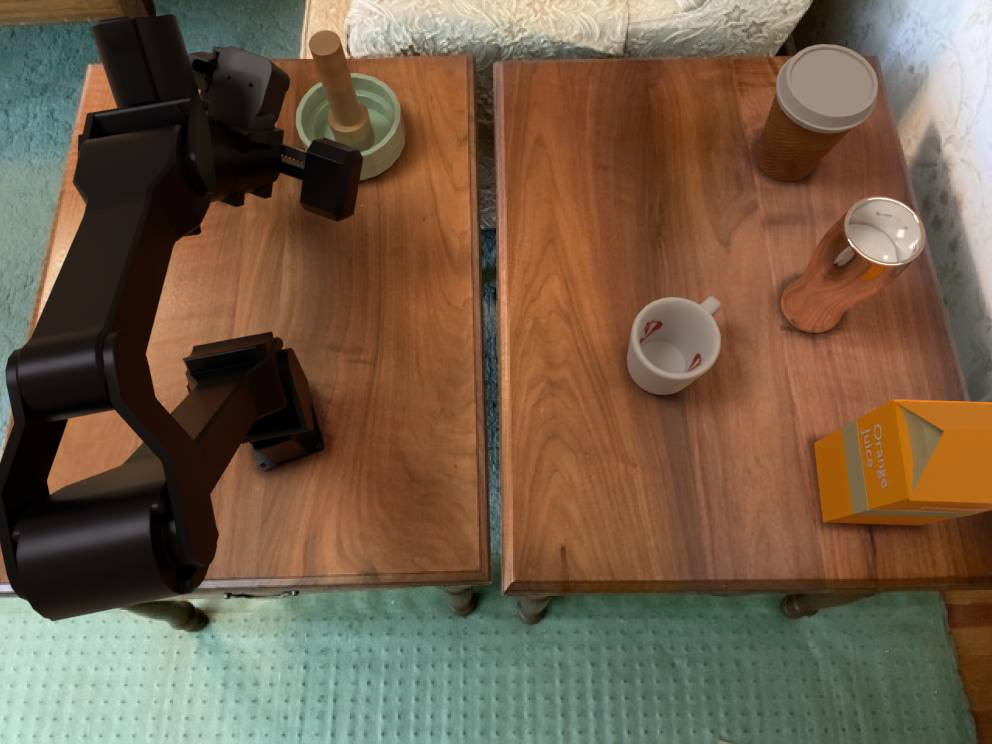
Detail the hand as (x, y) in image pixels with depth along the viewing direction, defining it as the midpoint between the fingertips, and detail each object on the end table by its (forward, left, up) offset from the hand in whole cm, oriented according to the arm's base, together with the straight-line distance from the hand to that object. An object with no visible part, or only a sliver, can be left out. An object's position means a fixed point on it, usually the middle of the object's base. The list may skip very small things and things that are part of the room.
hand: (307, 145), depth 69 cm
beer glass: (-31, -43, -9) cm, 53 cm away
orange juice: (-48, -39, -9) cm, 63 cm away
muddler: (+5, -5, -8) cm, 11 cm away
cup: (-30, -27, -9) cm, 42 cm away
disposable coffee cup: (-14, -49, -9) cm, 51 cm away
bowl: (+5, -5, -8) cm, 11 cm away
